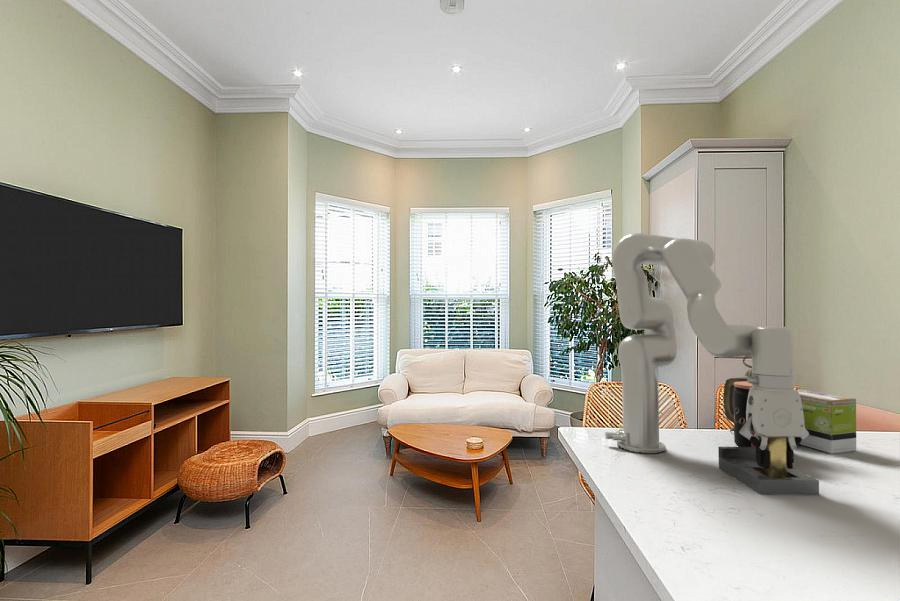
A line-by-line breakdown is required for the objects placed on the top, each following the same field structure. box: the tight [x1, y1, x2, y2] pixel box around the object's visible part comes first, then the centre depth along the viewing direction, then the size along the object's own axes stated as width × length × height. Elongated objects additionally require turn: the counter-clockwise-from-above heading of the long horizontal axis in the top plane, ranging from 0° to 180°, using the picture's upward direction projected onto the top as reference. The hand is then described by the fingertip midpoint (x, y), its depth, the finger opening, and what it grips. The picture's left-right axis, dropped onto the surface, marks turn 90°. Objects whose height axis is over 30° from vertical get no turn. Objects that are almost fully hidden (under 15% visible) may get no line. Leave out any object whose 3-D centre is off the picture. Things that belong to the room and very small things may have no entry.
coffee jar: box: [733, 381, 753, 447], centre depth 131 cm, size 11×11×18 cm
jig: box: [717, 446, 820, 496], centre depth 106 cm, size 12×16×5 cm
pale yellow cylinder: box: [763, 437, 787, 477], centre depth 103 cm, size 4×4×9 cm
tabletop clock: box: [723, 356, 752, 432], centre depth 145 cm, size 14×9×25 cm, turn 28°
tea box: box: [797, 389, 857, 455], centre depth 135 cm, size 15×10×15 cm, turn 17°
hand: (774, 465), depth 103 cm, fingers closed on pale yellow cylinder, 4 cm apart
